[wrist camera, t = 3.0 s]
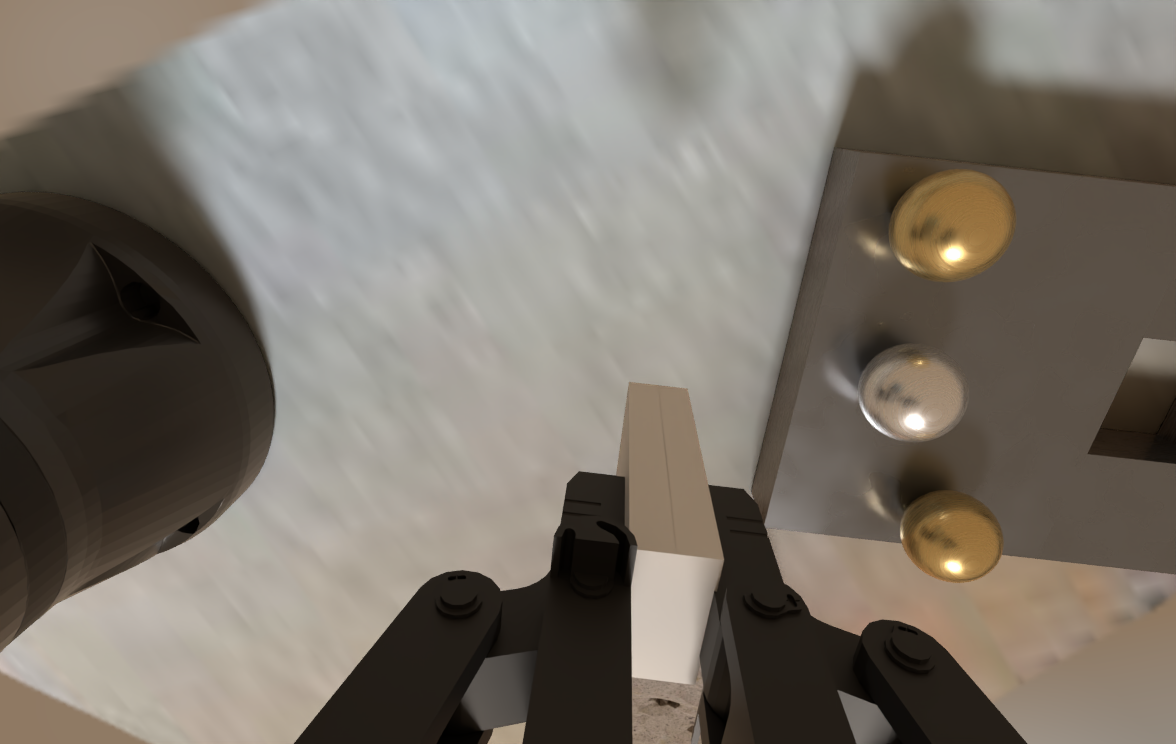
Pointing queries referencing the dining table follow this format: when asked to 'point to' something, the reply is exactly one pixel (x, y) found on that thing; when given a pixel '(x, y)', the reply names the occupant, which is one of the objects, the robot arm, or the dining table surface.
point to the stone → (664, 711)
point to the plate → (984, 368)
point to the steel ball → (913, 392)
